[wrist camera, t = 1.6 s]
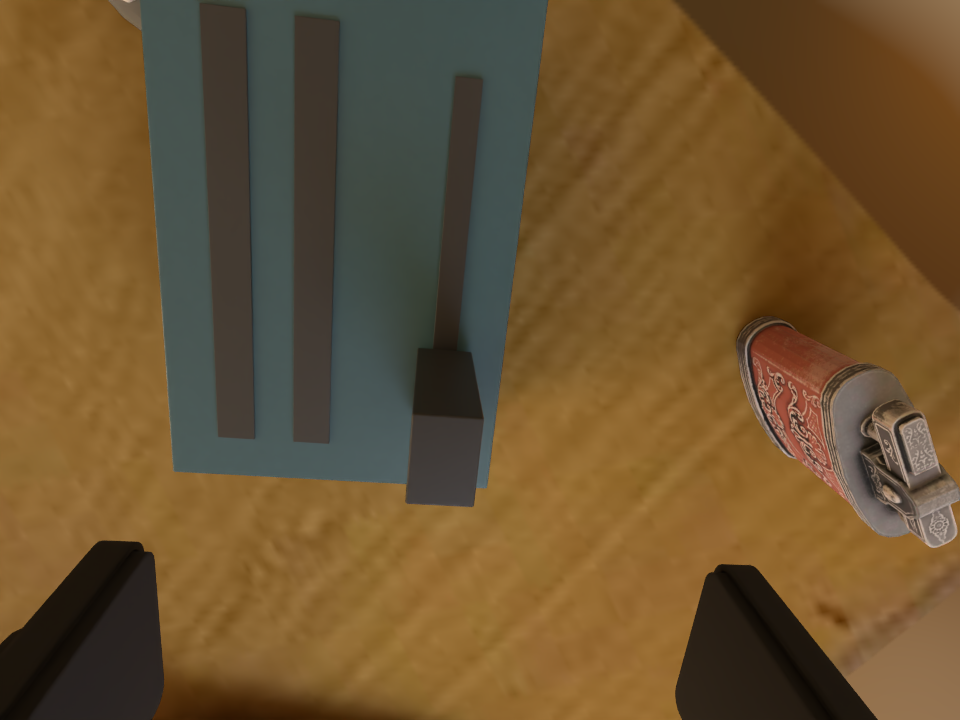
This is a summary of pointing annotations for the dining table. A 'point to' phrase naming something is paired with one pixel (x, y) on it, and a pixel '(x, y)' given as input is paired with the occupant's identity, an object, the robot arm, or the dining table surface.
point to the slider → (444, 430)
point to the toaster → (332, 218)
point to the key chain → (129, 10)
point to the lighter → (848, 430)
